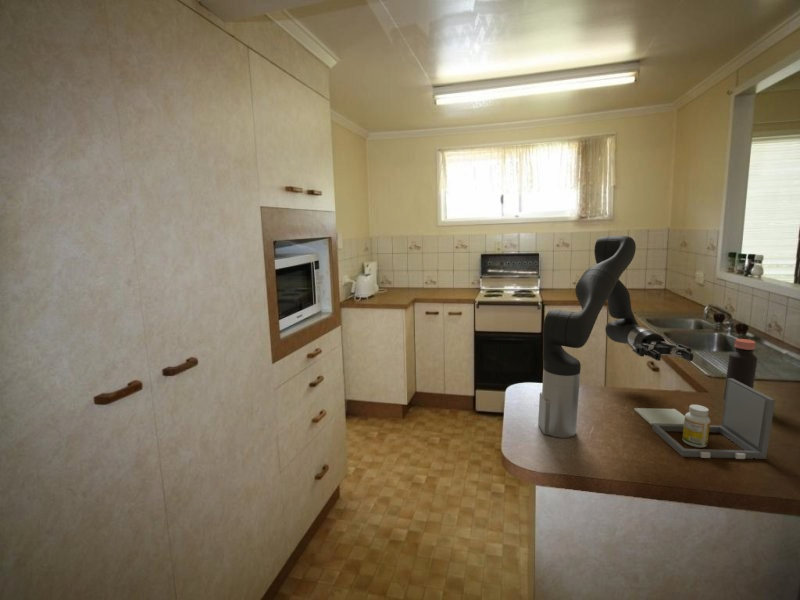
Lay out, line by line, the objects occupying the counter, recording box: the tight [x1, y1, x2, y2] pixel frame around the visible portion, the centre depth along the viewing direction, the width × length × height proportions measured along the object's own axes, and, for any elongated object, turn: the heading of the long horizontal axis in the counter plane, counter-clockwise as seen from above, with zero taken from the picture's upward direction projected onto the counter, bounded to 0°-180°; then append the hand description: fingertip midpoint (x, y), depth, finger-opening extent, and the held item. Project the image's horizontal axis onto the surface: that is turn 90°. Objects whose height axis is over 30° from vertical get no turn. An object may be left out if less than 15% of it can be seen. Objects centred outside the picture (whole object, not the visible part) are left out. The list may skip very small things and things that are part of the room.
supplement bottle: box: [681, 404, 711, 448], centre depth 107 cm, size 5×5×10 cm
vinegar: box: [723, 338, 758, 401], centre depth 131 cm, size 7×7×20 cm
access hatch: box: [651, 378, 776, 460], centre depth 107 cm, size 19×15×15 cm
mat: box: [633, 407, 685, 426], centre depth 122 cm, size 12×10×1 cm
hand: (675, 357), depth 117 cm, fingers open, 8 cm apart
